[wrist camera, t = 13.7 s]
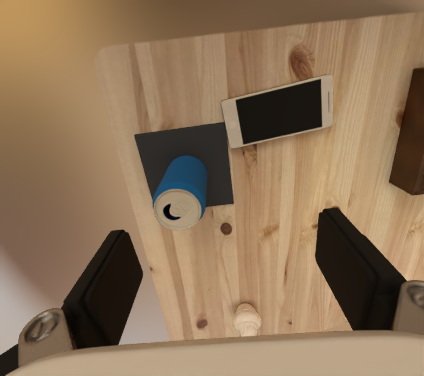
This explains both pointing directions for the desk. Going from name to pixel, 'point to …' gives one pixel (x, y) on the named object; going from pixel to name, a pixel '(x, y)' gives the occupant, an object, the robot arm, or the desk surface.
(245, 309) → the muffin
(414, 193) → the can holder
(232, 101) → the smartphone
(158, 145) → the mat
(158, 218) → the beverage can
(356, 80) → the desk surface
